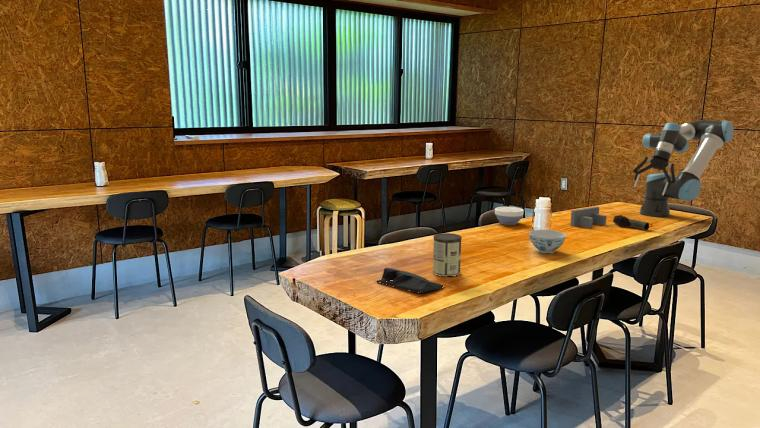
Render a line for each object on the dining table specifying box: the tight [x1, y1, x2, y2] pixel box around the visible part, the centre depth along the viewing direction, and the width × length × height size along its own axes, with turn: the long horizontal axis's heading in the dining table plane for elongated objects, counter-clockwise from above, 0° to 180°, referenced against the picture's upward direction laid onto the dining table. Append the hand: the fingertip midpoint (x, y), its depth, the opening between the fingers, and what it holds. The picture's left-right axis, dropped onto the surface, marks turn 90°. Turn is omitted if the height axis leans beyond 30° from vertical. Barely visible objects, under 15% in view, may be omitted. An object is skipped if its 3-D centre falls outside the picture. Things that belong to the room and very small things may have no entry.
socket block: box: [570, 206, 607, 229], centre depth 283 cm, size 20×9×8 cm, turn 123°
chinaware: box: [528, 229, 567, 254], centre depth 234 cm, size 15×15×8 cm
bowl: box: [494, 206, 525, 226], centre depth 285 cm, size 14×14×8 cm
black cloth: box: [377, 267, 445, 294], centre depth 192 cm, size 15×22×5 cm
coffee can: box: [432, 232, 463, 277], centre depth 204 cm, size 10×10×14 cm
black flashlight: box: [612, 214, 650, 231], centre depth 279 cm, size 18×7×6 cm, turn 36°
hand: (648, 190), depth 279 cm, fingers open, 13 cm apart
